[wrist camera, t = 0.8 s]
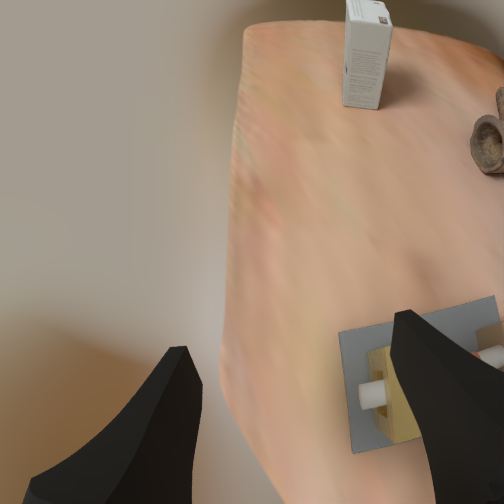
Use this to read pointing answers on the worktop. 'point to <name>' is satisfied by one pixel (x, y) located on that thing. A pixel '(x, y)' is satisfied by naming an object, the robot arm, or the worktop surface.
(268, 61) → the worktop surface
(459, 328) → the rail
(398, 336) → the robot arm
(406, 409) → the collar
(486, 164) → the pipe
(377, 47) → the skincare box
